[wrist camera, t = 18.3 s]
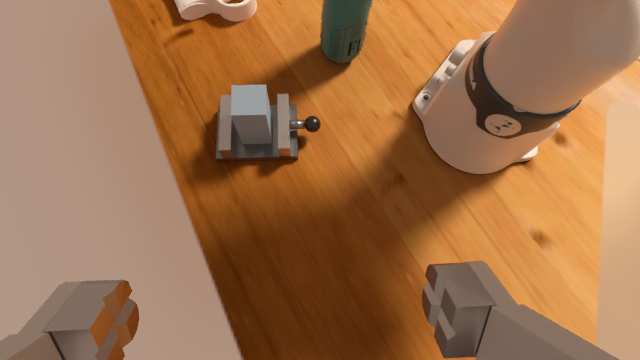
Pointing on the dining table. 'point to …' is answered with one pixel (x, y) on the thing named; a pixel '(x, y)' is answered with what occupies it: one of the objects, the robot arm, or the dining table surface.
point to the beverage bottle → (343, 28)
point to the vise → (234, 150)
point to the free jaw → (290, 124)
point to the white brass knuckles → (216, 9)
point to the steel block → (251, 113)
